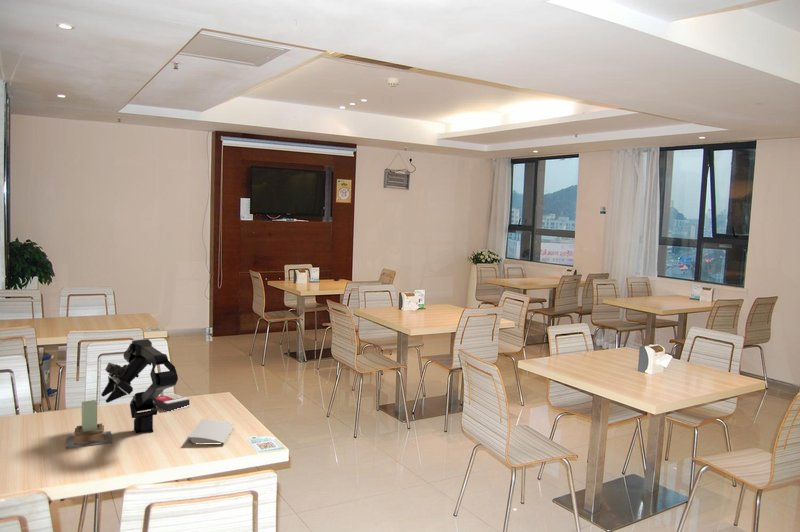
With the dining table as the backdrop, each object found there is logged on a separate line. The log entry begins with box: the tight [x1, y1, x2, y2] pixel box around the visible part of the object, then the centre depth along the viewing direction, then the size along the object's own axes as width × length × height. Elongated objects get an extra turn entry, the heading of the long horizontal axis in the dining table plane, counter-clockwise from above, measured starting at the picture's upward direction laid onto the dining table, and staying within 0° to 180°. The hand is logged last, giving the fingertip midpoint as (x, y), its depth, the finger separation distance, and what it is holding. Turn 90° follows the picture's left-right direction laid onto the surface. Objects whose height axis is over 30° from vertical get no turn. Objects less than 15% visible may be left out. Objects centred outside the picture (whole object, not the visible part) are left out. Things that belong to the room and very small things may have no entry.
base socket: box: [65, 422, 113, 449], centre depth 231 cm, size 15×12×5 cm
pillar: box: [81, 399, 98, 432], centre depth 231 cm, size 5×5×11 cm
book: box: [187, 418, 235, 445], centre depth 241 cm, size 15×23×4 cm, turn 4°
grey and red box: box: [154, 392, 191, 412], centre depth 277 cm, size 11×4×15 cm
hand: (104, 398), depth 239 cm, fingers open, 9 cm apart
